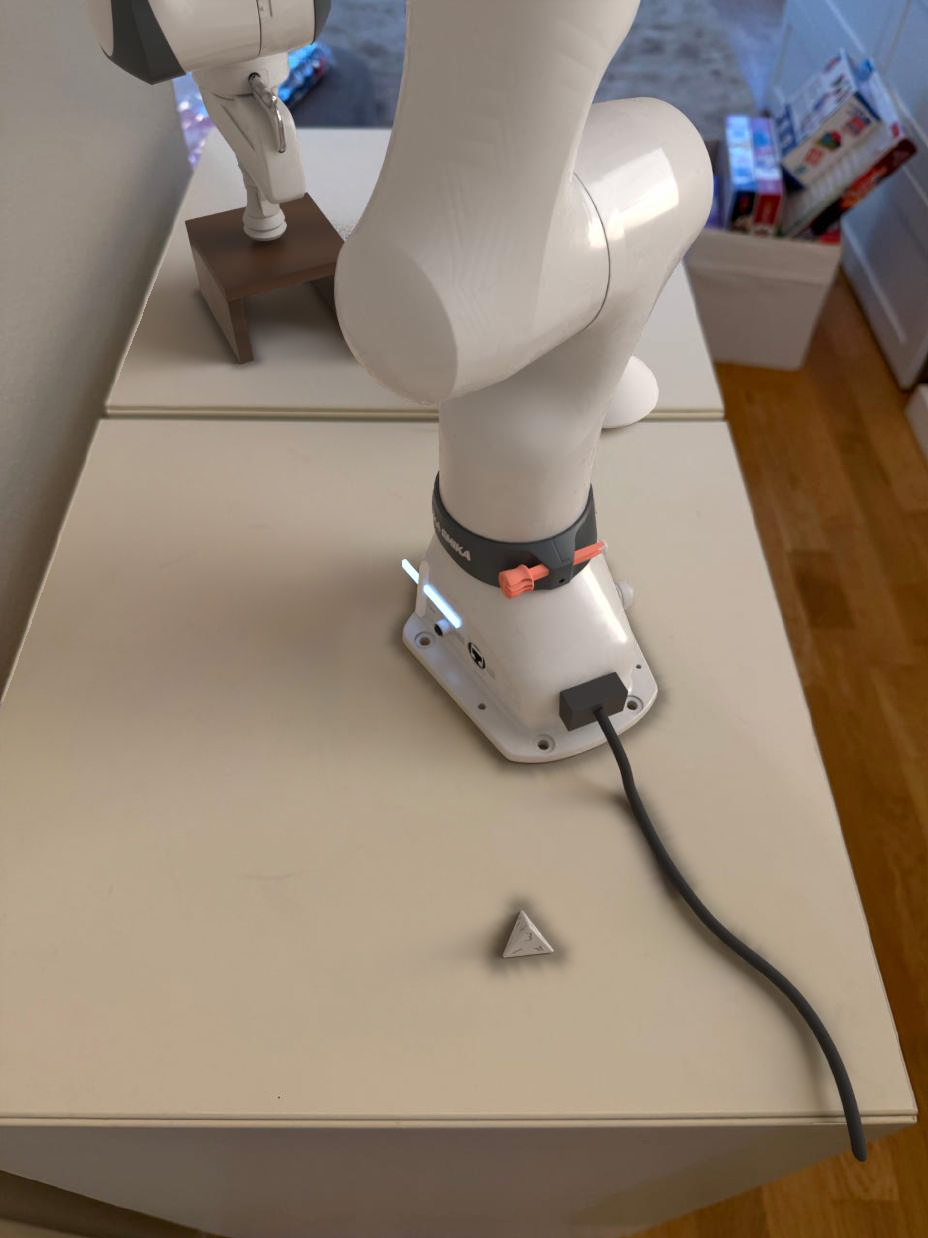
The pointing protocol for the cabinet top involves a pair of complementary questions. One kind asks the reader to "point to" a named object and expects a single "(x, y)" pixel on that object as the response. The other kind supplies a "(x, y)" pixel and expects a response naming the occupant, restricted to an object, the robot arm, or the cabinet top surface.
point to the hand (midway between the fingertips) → (262, 201)
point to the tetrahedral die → (526, 939)
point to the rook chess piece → (259, 215)
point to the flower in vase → (632, 395)
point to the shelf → (260, 262)
